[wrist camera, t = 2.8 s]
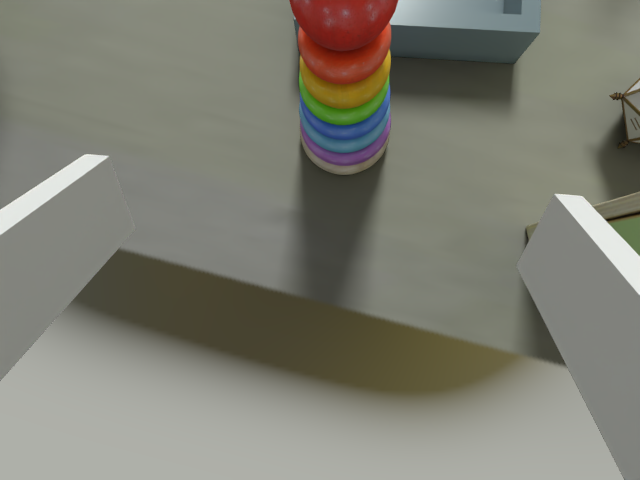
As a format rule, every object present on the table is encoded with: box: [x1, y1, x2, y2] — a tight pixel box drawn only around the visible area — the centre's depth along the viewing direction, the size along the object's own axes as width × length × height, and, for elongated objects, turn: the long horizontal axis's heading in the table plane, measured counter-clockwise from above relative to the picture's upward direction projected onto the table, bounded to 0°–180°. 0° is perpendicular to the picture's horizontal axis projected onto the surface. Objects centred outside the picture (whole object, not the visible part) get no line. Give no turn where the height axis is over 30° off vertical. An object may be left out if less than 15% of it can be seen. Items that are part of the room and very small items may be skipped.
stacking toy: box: [290, 0, 398, 175], centre depth 22 cm, size 8×8×19 cm
